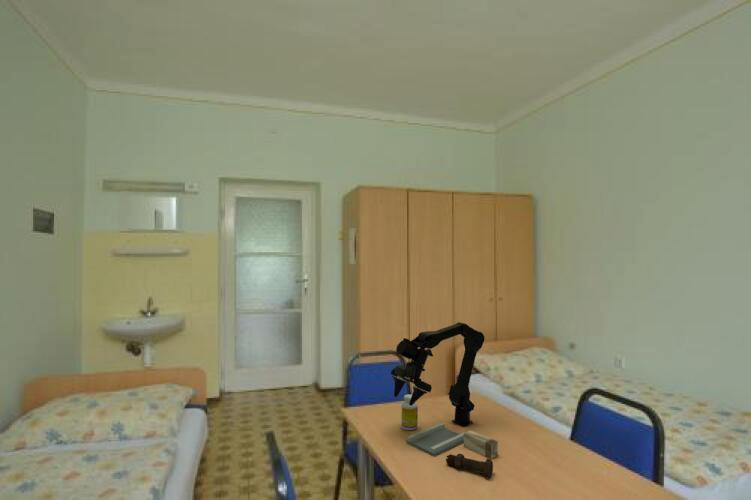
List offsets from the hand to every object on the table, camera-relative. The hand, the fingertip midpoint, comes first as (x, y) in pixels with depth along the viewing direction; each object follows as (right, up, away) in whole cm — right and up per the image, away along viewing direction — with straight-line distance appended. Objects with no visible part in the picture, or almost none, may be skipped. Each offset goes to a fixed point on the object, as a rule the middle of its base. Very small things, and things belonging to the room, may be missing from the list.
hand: (402, 400), depth 166 cm
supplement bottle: (+3, -14, +9) cm, 17 cm away
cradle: (+13, -14, -4) cm, 20 cm away
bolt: (+20, -15, -24) cm, 35 cm away
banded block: (+28, -14, -11) cm, 33 cm away
